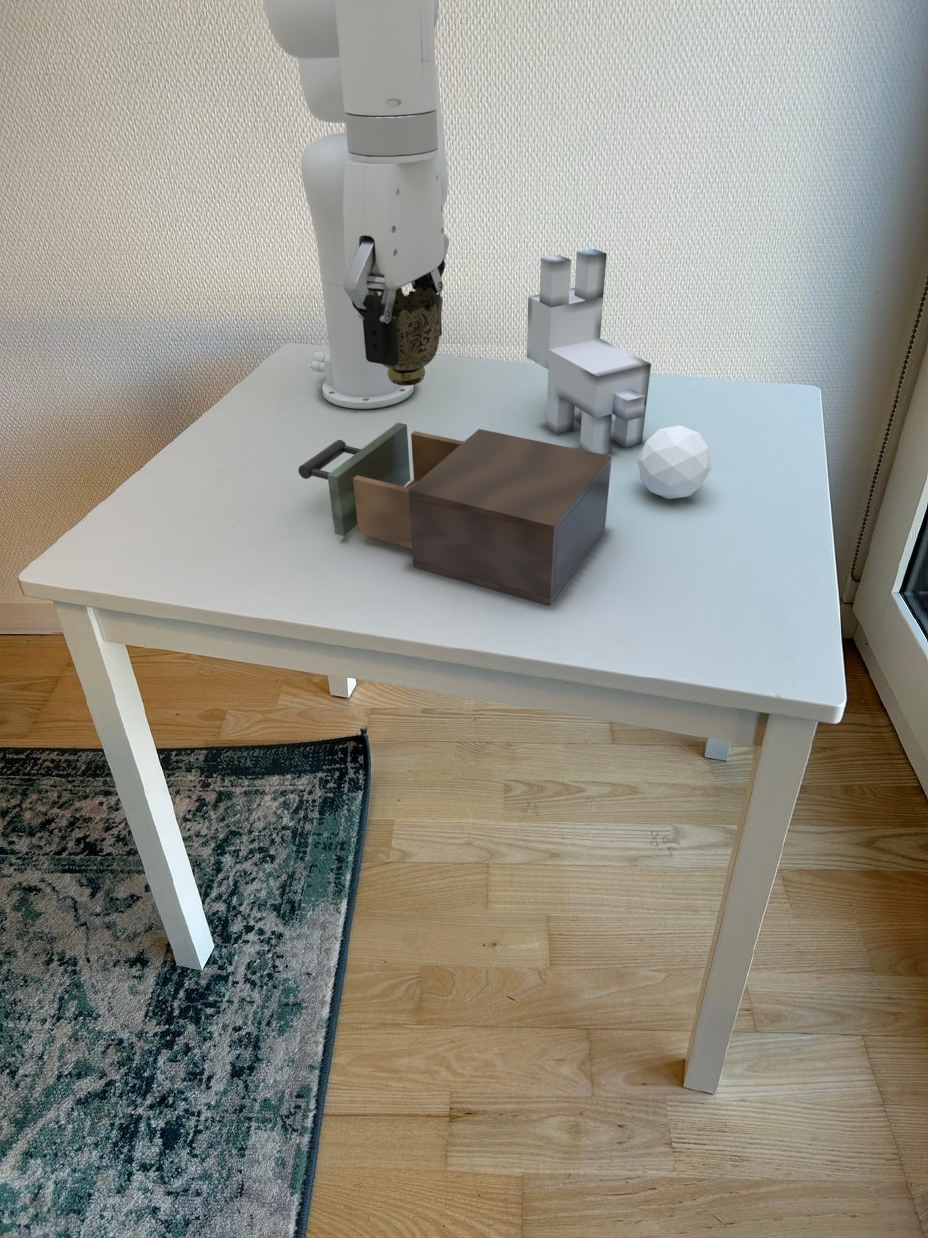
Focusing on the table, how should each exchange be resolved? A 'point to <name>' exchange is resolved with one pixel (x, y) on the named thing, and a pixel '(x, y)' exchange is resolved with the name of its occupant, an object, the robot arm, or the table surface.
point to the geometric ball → (674, 462)
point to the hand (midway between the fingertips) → (405, 347)
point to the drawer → (378, 481)
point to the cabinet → (510, 514)
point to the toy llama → (584, 356)
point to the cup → (414, 333)
